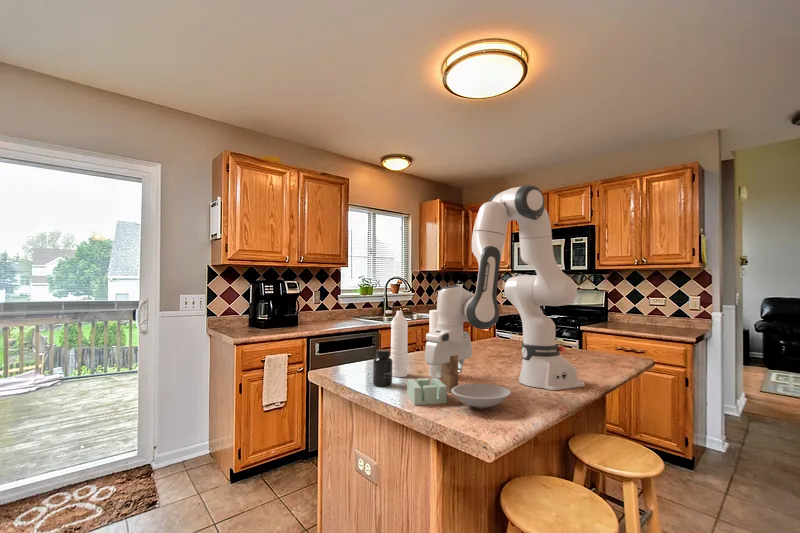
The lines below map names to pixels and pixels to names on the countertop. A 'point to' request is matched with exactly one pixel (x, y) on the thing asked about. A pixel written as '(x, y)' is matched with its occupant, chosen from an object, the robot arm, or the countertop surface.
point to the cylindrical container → (432, 325)
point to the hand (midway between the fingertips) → (449, 374)
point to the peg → (450, 373)
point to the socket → (426, 391)
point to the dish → (481, 394)
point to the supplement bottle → (382, 368)
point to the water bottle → (399, 344)
